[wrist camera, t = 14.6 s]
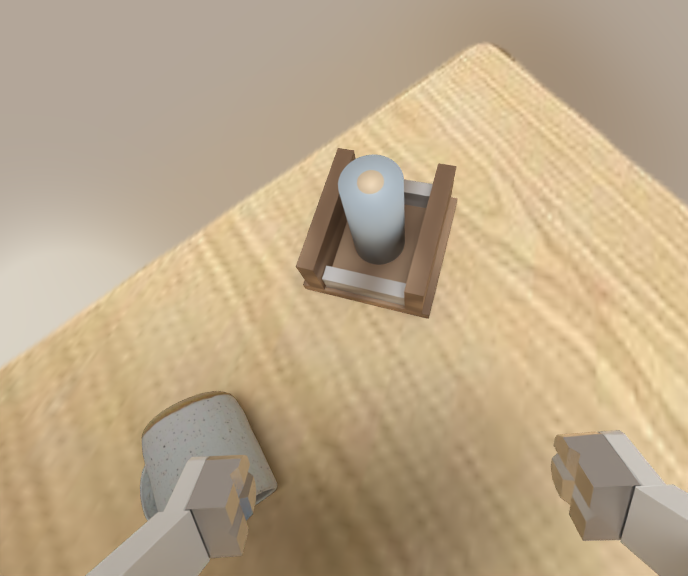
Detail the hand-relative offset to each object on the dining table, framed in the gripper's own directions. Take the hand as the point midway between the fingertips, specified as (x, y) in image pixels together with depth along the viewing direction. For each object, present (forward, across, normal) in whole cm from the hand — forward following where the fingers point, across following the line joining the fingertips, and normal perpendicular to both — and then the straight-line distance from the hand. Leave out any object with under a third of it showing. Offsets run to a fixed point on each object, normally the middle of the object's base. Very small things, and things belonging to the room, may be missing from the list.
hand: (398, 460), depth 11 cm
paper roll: (+26, -1, +3) cm, 26 cm away
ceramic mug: (+15, +14, +17) cm, 26 cm away
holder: (+27, -1, +3) cm, 27 cm away
